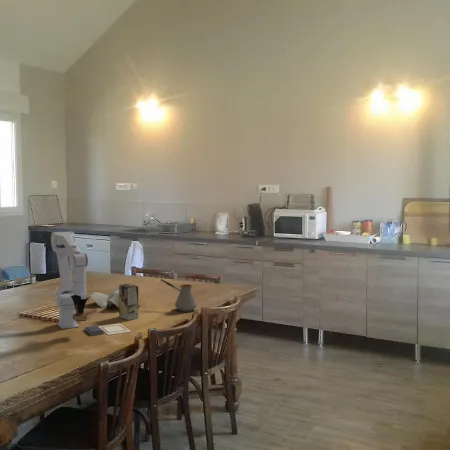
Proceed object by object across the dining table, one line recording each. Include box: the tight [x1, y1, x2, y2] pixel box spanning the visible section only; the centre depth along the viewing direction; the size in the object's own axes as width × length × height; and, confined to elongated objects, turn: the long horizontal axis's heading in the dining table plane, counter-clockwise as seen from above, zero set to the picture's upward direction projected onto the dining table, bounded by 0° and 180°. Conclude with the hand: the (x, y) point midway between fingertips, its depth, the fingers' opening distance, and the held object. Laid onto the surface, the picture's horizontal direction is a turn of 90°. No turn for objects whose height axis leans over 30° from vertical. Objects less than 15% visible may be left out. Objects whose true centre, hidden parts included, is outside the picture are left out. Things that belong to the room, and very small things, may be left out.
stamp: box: [73, 305, 88, 323], centre depth 241 cm, size 6×4×7 cm
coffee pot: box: [159, 278, 198, 312], centre depth 291 cm, size 21×12×15 cm, turn 65°
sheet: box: [97, 323, 132, 336], centre depth 252 cm, size 15×10×1 cm
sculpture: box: [87, 288, 141, 309], centre depth 296 cm, size 25×19×10 cm
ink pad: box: [83, 325, 105, 337], centre depth 247 cm, size 10×6×2 cm, turn 30°
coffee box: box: [118, 283, 139, 321], centre depth 272 cm, size 9×6×16 cm
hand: (79, 312), depth 241 cm, fingers closed on stamp, 3 cm apart
